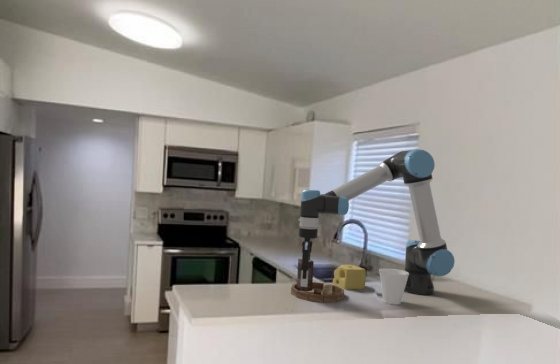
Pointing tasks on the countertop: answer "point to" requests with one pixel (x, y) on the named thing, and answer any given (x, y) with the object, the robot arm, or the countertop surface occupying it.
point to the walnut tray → (319, 297)
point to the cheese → (349, 277)
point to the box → (310, 275)
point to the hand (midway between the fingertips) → (304, 284)
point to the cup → (393, 285)
